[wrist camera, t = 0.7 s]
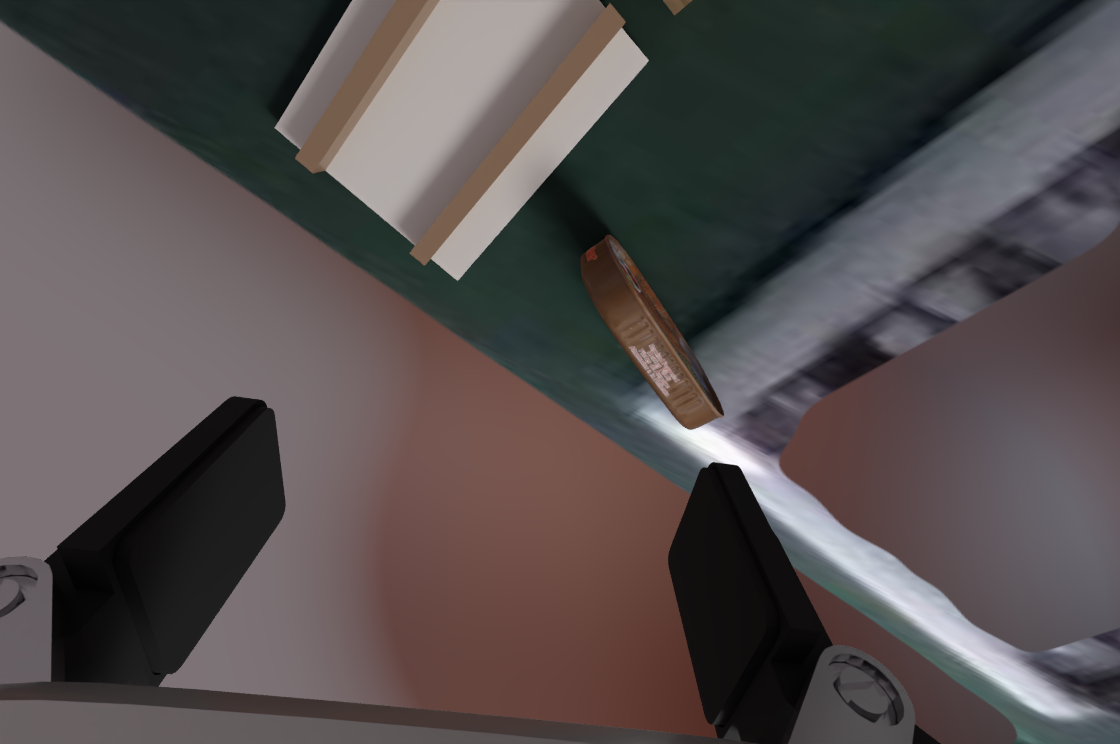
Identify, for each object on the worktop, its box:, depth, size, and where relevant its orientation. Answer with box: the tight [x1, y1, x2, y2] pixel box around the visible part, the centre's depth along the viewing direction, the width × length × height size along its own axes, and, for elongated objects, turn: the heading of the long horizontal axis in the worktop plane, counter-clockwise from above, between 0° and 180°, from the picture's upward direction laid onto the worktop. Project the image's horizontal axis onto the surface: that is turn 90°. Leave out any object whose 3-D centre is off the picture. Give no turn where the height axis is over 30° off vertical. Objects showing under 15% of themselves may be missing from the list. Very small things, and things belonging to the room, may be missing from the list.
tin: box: [580, 235, 724, 430], centre depth 33 cm, size 15×3×8 cm, turn 36°
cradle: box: [275, 0, 649, 281], centre depth 29 cm, size 18×14×3 cm
